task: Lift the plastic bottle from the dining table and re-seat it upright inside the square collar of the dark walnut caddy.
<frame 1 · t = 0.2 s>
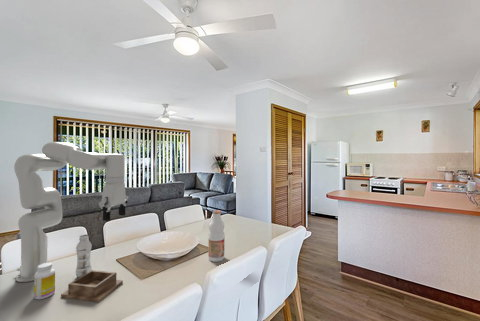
hand: (114, 217, 101), 31 cm above the table, tool pointing down, fingers open, 9 cm apart
walnut caddy: (93, 289, 97), on the table
fruit juice: (216, 258, 129), on the table
plastic bottle: (83, 276, 109), on the table
supplement bottle: (44, 295, 93), on the table
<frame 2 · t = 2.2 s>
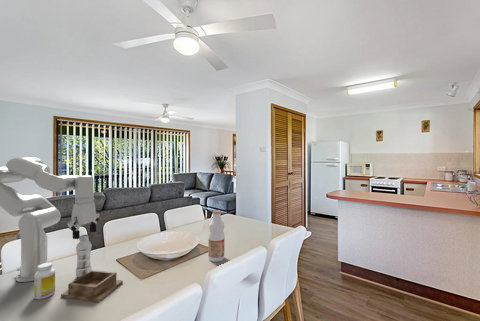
hand: (85, 235, 109), 20 cm above the table, tool pointing down, fingers open, 9 cm apart
nothing on the table moved.
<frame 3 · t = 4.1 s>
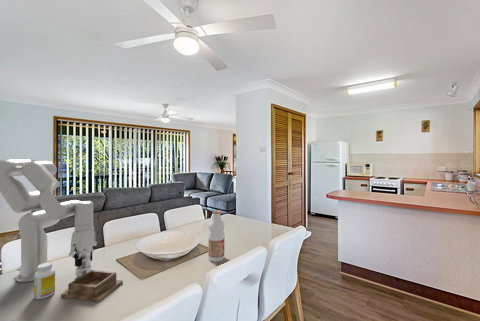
hand: (83, 262, 109), 7 cm above the table, tool pointing down, fingers closed on plastic bottle, 5 cm apart
plastic bottle: (83, 276, 109), on the table, touching gripper
everything else where it was.
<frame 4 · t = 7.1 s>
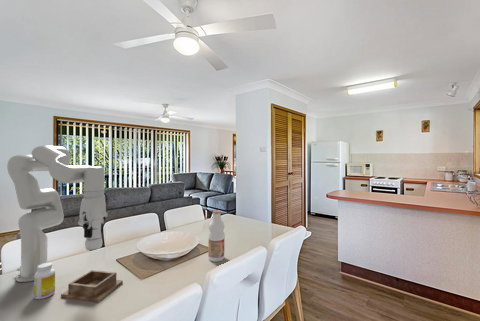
hand: (93, 234, 97), 24 cm above the table, tool pointing down, fingers closed on plastic bottle, 5 cm apart
plastic bottle: (93, 249, 97), point 18 cm above the table, touching gripper
everything else where it was.
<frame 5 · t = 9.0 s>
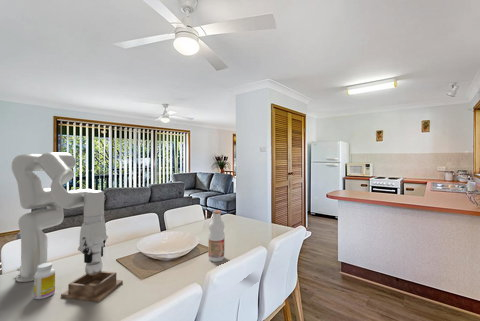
hand: (93, 259, 97), 14 cm above the table, tool pointing down, fingers closed on plastic bottle, 5 cm apart
plastic bottle: (93, 274, 97), point 7 cm above the table, touching gripper
everything else where it was.
when the fingers open (9 cm above the table, at t = 10.4 s): plastic bottle drops 1 cm, resting on walnut caddy.
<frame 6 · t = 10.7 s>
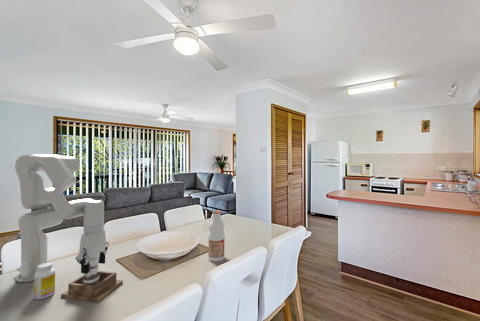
hand: (93, 267, 97), 10 cm above the table, tool pointing down, fingers open, 8 cm apart
plastic bottle: (91, 288, 97), point 1 cm above the table, touching walnut caddy
everything else where it was.
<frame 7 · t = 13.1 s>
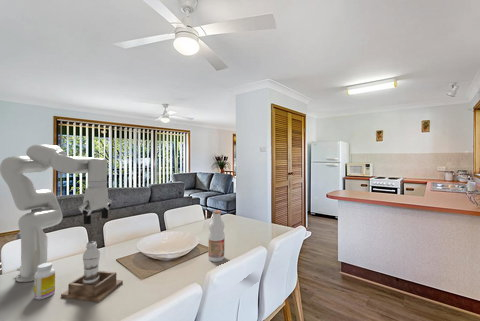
hand: (96, 221, 103), 29 cm above the table, tool pointing down, fingers open, 9 cm apart
nothing on the table moved.
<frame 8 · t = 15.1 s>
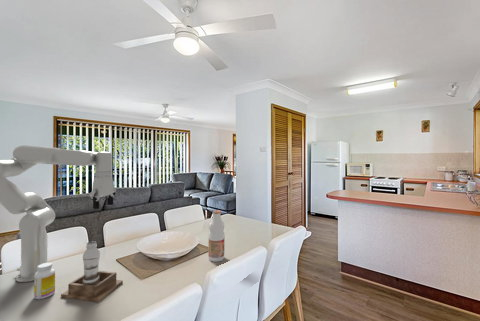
hand: (103, 206, 118), 32 cm above the table, tool pointing down, fingers open, 9 cm apart
nothing on the table moved.
at the end: plastic bottle inside the target area on the walnut caddy (0.9 cm from its centre), point 1.0 cm above the walnut caddy's base; plastic bottle tilted 0°; the gripper is holding nothing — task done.
